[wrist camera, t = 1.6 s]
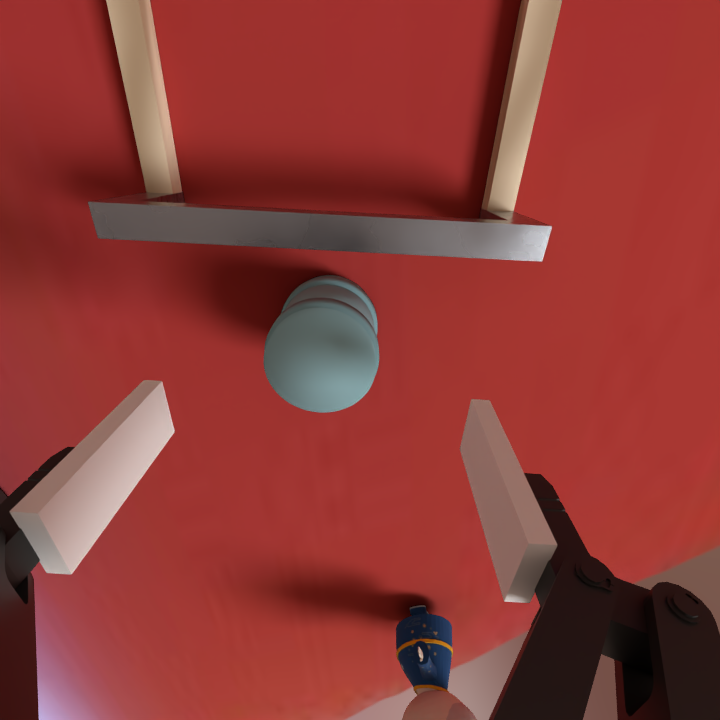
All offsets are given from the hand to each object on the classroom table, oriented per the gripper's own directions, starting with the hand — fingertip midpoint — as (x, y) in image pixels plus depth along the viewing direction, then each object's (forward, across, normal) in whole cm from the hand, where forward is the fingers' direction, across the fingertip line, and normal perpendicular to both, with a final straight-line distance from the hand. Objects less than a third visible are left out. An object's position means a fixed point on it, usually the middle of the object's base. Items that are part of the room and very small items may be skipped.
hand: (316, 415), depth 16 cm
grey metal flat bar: (+11, 0, +7) cm, 13 cm away
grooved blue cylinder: (+11, 0, 0) cm, 11 cm away
